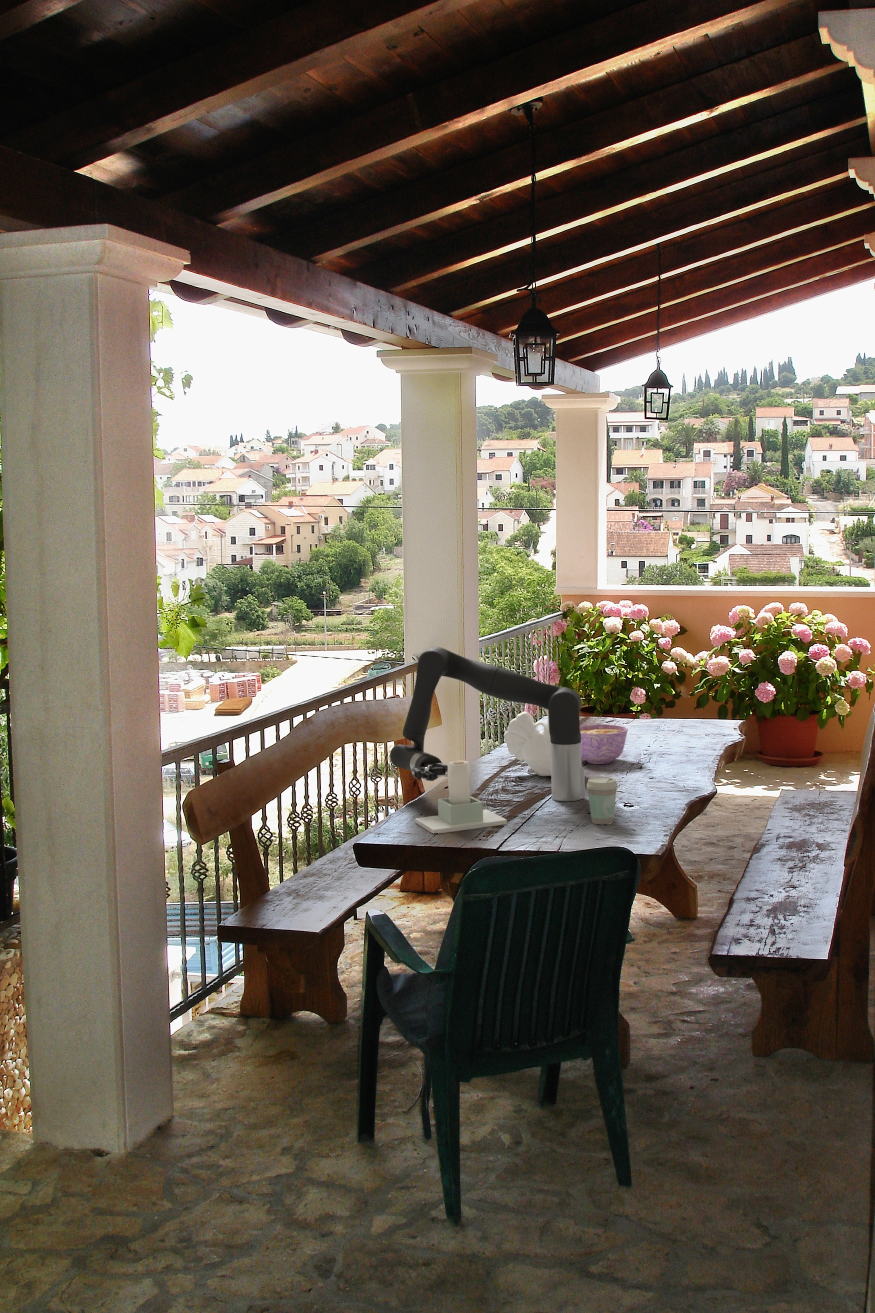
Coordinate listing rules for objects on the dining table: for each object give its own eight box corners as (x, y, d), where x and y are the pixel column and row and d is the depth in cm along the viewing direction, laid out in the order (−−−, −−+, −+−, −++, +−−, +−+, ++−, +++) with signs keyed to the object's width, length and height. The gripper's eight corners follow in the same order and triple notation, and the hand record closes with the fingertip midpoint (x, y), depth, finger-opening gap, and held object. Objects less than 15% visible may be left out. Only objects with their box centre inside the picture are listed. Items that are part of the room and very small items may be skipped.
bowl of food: (626, 755, 400) (625, 723, 398) (630, 767, 380) (629, 733, 379) (570, 756, 402) (569, 724, 400) (571, 767, 382) (570, 734, 381)
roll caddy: (486, 813, 323) (485, 791, 322) (507, 824, 310) (506, 801, 309) (415, 822, 315) (414, 800, 314) (433, 834, 302) (432, 810, 301)
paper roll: (466, 815, 316) (464, 759, 314) (474, 820, 310) (472, 763, 309) (446, 818, 314) (444, 761, 312) (454, 822, 308) (452, 765, 307)
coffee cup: (602, 828, 302) (601, 784, 301) (580, 822, 309) (579, 779, 308) (624, 822, 307) (624, 779, 306) (602, 817, 314) (602, 775, 313)
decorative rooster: (587, 772, 374) (586, 698, 372) (568, 781, 361) (566, 705, 358) (520, 766, 387) (518, 695, 384) (499, 775, 373) (497, 702, 371)
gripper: (403, 756, 332) (422, 765, 317) (447, 751, 337) (468, 760, 322) (404, 780, 333) (423, 791, 318) (448, 775, 338) (469, 786, 323)
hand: (446, 775), depth 320 cm, fingers open, 8 cm apart
